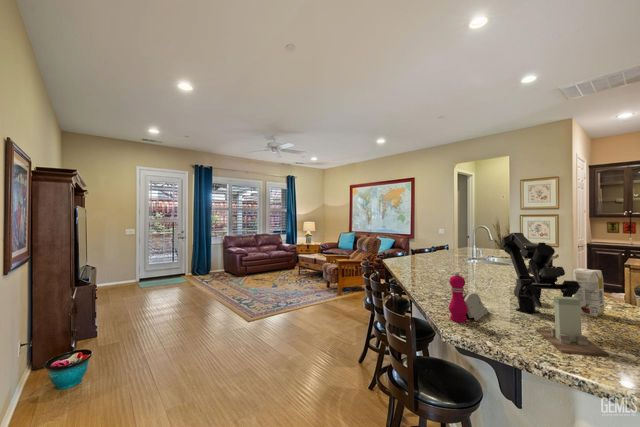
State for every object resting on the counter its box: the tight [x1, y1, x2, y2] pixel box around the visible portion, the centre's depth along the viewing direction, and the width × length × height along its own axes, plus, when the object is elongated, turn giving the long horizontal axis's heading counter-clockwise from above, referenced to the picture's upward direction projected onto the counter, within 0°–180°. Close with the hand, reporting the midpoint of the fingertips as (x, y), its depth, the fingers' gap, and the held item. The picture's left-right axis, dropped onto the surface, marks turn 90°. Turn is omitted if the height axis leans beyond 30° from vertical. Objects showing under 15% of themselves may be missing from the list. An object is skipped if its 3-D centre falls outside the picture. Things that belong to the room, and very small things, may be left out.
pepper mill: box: [448, 271, 468, 323], centre depth 120 cm, size 7×7×20 cm
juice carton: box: [572, 267, 605, 318], centre depth 124 cm, size 8×9×19 cm
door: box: [553, 295, 583, 342], centre depth 97 cm, size 3×6×14 cm, turn 74°
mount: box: [535, 327, 610, 358], centre depth 97 cm, size 18×12×3 cm, turn 164°
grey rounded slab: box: [463, 292, 489, 322], centre depth 127 cm, size 17×5×10 cm, turn 134°
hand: (555, 307), depth 104 cm, fingers open, 9 cm apart
